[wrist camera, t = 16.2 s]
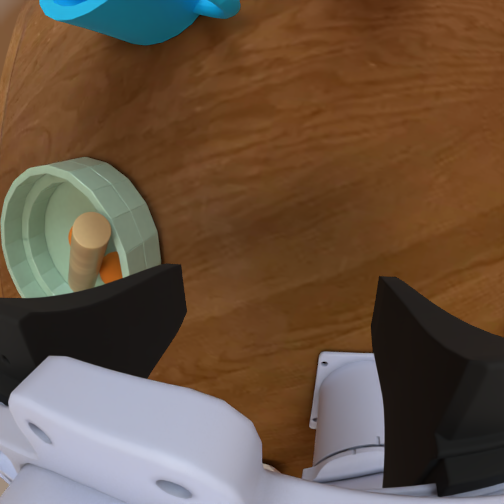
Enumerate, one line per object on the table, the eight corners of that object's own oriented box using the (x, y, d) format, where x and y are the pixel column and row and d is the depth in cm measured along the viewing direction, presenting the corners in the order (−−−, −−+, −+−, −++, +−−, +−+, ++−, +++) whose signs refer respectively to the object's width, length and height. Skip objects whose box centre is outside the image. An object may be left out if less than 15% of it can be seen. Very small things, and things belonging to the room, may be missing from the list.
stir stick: (76, 300, 23) (83, 255, 16) (63, 274, 23) (65, 220, 16) (100, 286, 24) (118, 238, 18) (86, 262, 24) (100, 205, 18)
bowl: (174, 324, 26) (148, 360, 22) (56, 303, 29) (26, 326, 24) (155, 148, 21) (114, 154, 17) (29, 166, 24) (-11, 176, 19)
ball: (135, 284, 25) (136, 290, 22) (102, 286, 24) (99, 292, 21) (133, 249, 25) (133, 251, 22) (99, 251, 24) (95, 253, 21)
